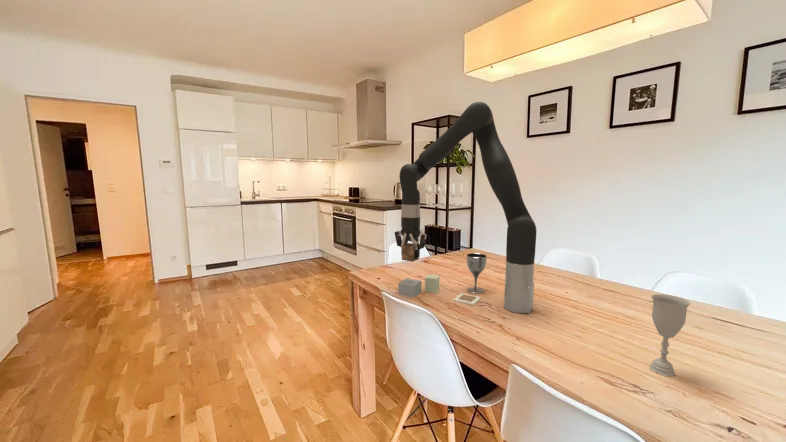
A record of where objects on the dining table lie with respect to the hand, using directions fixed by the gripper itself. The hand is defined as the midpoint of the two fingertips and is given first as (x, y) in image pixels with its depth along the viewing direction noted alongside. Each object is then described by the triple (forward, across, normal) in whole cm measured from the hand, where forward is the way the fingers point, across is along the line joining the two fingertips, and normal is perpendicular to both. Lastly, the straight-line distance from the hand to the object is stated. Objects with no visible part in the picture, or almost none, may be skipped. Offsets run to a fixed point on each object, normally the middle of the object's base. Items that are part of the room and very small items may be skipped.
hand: (410, 257), depth 129 cm
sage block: (+15, -6, -8) cm, 18 cm away
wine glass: (+15, -21, -18) cm, 31 cm away
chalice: (+15, -78, +12) cm, 80 cm away
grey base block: (+15, 0, 0) cm, 15 cm away
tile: (+15, -22, -6) cm, 27 cm away
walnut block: (+1, 0, 0) cm, 1 cm away
